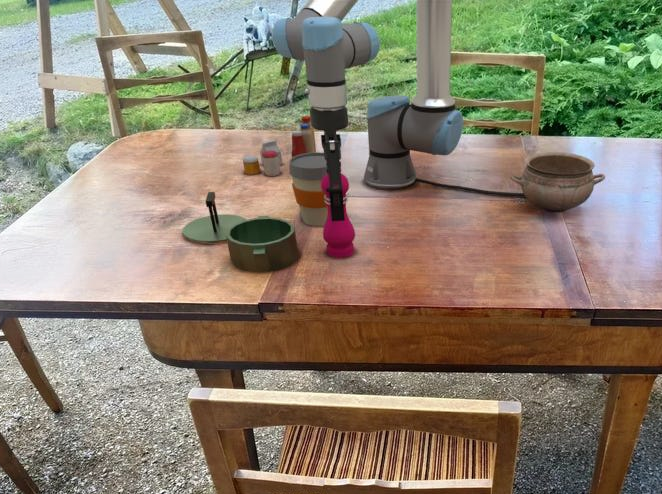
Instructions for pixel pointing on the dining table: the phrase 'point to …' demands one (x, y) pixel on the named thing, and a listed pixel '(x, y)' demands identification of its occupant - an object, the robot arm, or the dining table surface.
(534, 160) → the cooking pot
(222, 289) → the dining table surface
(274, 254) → the pot
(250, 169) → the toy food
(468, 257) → the dining table surface
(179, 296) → the dining table surface
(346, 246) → the pepper mill
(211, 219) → the lid
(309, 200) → the reusable coffee cup
